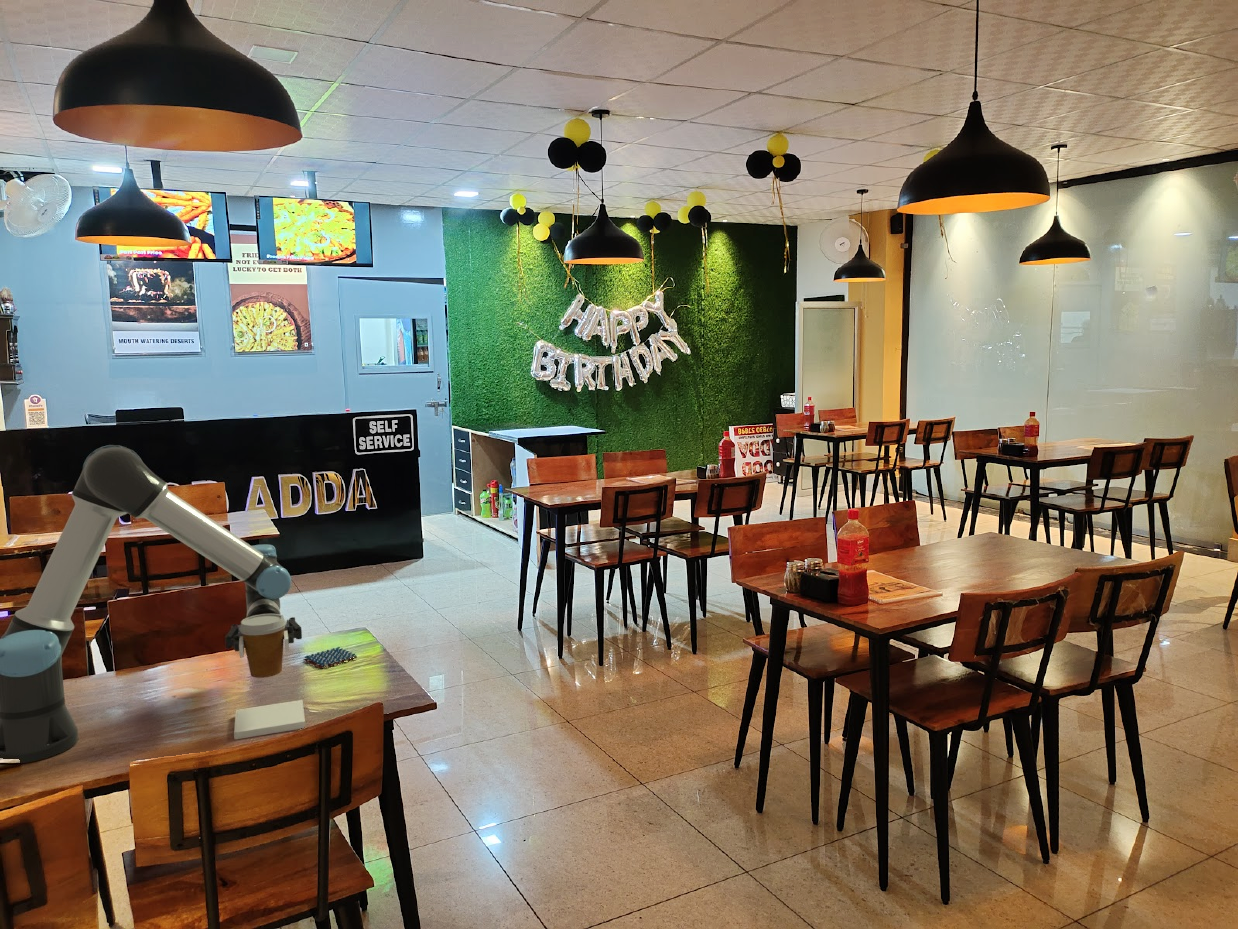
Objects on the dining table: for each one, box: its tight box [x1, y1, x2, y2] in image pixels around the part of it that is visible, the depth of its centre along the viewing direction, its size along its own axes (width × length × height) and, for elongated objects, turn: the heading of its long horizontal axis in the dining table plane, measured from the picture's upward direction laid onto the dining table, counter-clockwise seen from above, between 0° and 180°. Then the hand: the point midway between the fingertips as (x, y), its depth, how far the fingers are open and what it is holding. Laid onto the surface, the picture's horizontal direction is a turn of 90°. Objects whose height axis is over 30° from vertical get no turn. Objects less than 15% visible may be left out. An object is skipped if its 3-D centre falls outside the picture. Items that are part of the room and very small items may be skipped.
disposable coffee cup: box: [239, 614, 287, 679], centre depth 188 cm, size 10×10×12 cm
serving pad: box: [233, 699, 306, 740], centre depth 190 cm, size 14×13×2 cm
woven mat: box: [303, 646, 358, 669], centre depth 228 cm, size 10×11×2 cm
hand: (264, 648), depth 183 cm, fingers closed on disposable coffee cup, 8 cm apart
